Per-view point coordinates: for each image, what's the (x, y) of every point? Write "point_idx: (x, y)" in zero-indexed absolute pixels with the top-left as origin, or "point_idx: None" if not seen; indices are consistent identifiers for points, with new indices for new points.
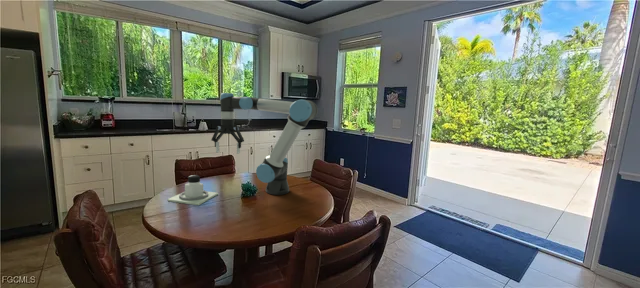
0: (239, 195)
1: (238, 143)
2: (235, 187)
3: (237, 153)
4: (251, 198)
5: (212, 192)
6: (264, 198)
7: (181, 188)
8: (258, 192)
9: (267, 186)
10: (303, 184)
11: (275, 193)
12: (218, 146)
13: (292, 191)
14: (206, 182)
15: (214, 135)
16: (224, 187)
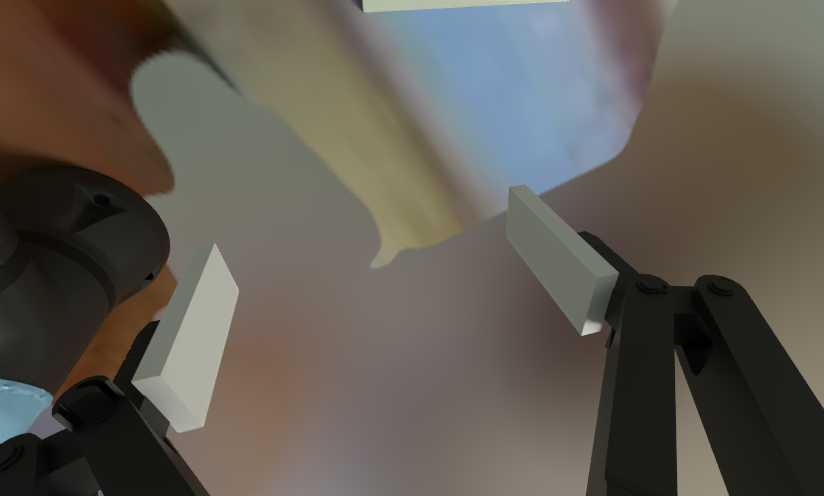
0: (224, 57)
1: (145, 389)
2: (353, 181)
3: (204, 246)
4: (101, 33)
5: (401, 2)
6: (26, 75)
7: (631, 21)
8: (168, 165)
9: (111, 212)
10: (79, 373)
11: (26, 173)
12: (544, 265)
13: None
14: (542, 182)
15: (771, 383)
16: (408, 153)
